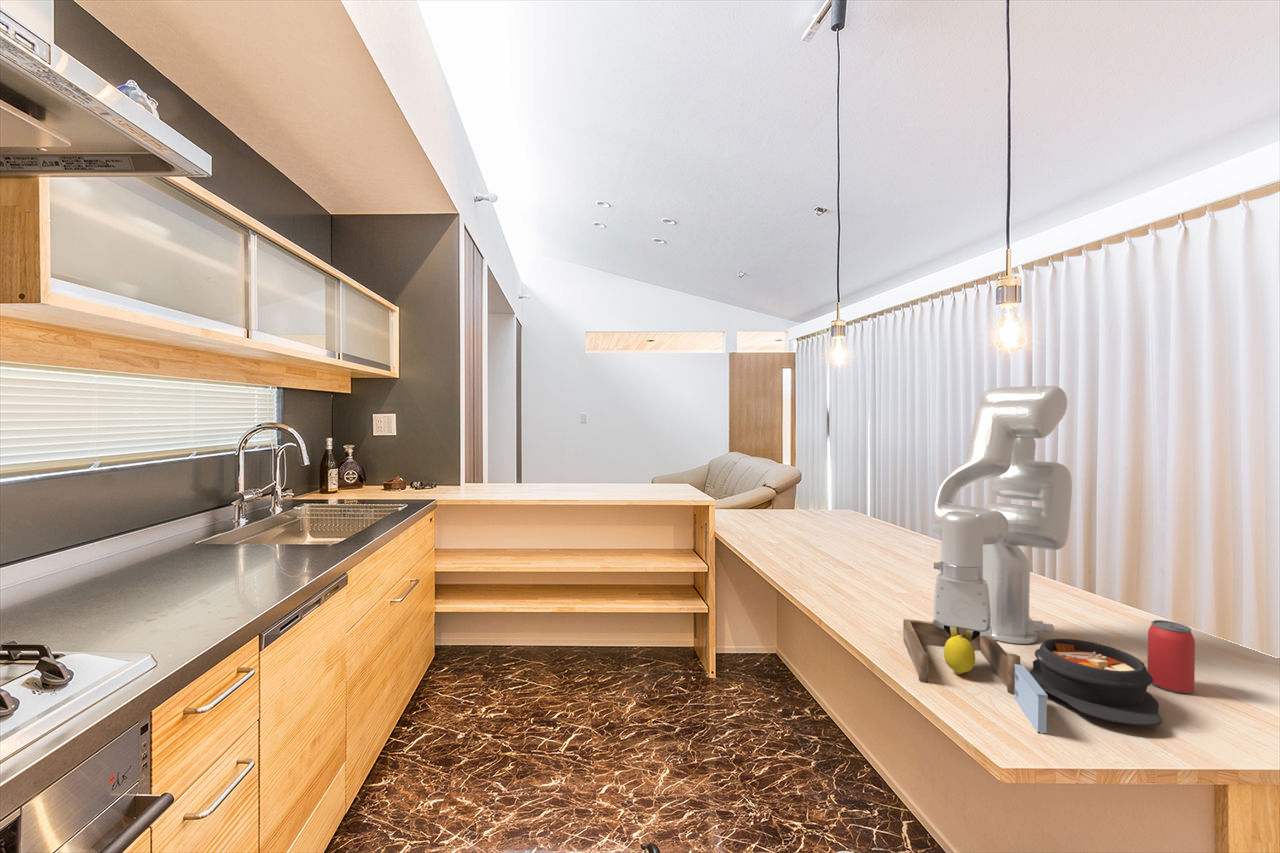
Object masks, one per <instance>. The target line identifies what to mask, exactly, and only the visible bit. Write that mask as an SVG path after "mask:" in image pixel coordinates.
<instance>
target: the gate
mask: <svg viewBox="0 0 1280 853" xmlns="http://www.w3.org/2000/svg"><path fill="white" fill-rule="evenodd" d="M1014 667H1015V672H1014V677H1015V688H1014V693H1015V695H1014V701H1016V703H1017V705H1018V706H1019V707H1020V709H1021V710H1022V712H1023V713H1024V714H1025V715H1024V716H1026V718H1027V719H1028V720H1029V722H1030V724H1031V723H1032V724H1031V725H1032V726H1033V728H1034V729H1035V731H1036V730H1037V731H1036V732H1037V733H1038V732H1040V733H1039V734H1042V733H1046V734H1047V731H1048V730H1047V725H1048V724H1047V723H1048V722H1047V717H1048V716H1047V715H1048V698H1049V697H1048V693H1047V692H1046V691H1044V690H1043V689H1042V688H1041V687H1040V685H1039V684H1038V683H1037V682H1036V680H1035V679H1034V678H1033V677H1032V675H1031V674H1030V672H1029V670H1028V669H1027V668H1026V667H1025V665H1024V664H1020V665H1018V664H1014ZM1041 732H1042V733H1041Z"/></svg>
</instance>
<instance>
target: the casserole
mask: <svg viewBox="0 0 1280 853" xmlns="http://www.w3.org/2000/svg"><path fill="white" fill-rule="evenodd" d="M1034 655H1035V658H1036V659H1034V660H1033V661H1032V669H1031V670H1030V672H1029V673H1030V674H1031V675H1032V677H1033V678H1034V679H1035V680H1036V682H1037V683H1038V684H1039V685H1040V687H1041V688H1042V689H1043V690H1044V691H1045V693H1046V694H1049V695H1052V696H1053V697H1055V698H1057V699H1059V700H1061V701H1063V702H1065V703H1067V704H1068V705H1069V706H1071V707H1072V708H1074V709H1075V710H1077V711H1078V712H1081V713H1082V714H1085V715H1087V716H1089V717H1093V718H1096V719H1099V720H1104V721H1108V722H1112V723H1117V724H1124V725H1131V726H1140V727H1142V726H1146V727H1148V726H1149V727H1150V726H1153V727H1154V726H1158V725H1159V726H1161V724H1162V723H1163V719H1162V716H1161V714H1160V712H1159V709H1160V703H1159V702H1158V700H1157V699H1156V698H1155V697H1154V696H1153V695H1152V694H1151V693H1149V692H1148V691H1147V690H1148V687H1149V686H1150V685H1153V684H1152V683H1153V678H1152V676H1151V675H1150V674H1149V673H1148V672H1147V667H1146V665H1145V663H1144V662H1143V661H1142V660H1140V659H1139V658H1138V657H1137V656H1136V657H1135V656H1134V655H1132V654H1130V653H1128V652H1125V651H1122V650H1120V649H1117V648H1114V647H1112V646H1108V645H1104V644H1101V643H1097V642H1092V641H1086V640H1080V639H1073V638H1071V639H1070V638H1050V639H1046V640H1044V641H1043V642H1042V643H1041V644H1040V647H1039V648H1038V649H1037V650H1035V652H1034Z"/></svg>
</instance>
